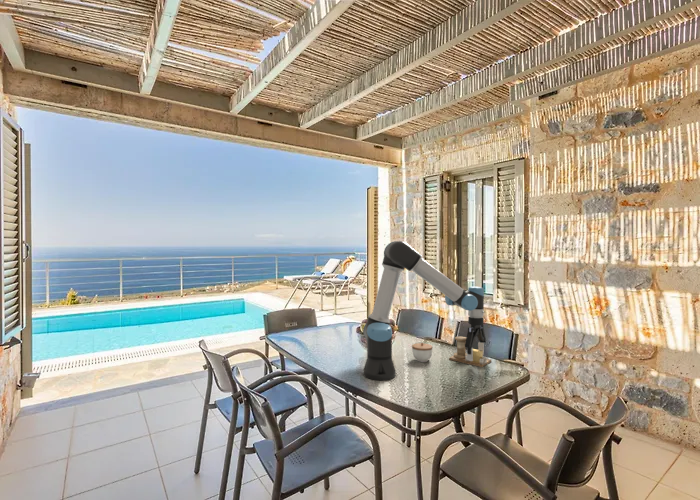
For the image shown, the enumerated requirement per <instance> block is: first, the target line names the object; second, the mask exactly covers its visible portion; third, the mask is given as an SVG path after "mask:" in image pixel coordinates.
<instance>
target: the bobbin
mask: <svg viewBox="0 0 700 500" xmlns="http://www.w3.org/2000/svg"><path fill="white" fill-rule="evenodd" d="M466 338H467V336H462V335H461V336H460V335H459V336H455V337H454V340H455V341H456V352H454V353H453V356H454V357H455V358H459V359H465V356H467V347H465V343H466Z"/></svg>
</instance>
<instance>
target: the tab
mask: <svg viewBox="0 0 700 500" xmlns="http://www.w3.org/2000/svg"><path fill="white" fill-rule="evenodd" d="M483 357H484V355H483V351H482V350H478V349H475V348H473V361H471V362H475V363H480V359H481V358H483Z"/></svg>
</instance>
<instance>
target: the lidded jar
mask: <svg viewBox="0 0 700 500" xmlns="http://www.w3.org/2000/svg"><path fill="white" fill-rule="evenodd" d="M411 347H412V348H411V351H412V356H413V358H414V359H415V360H416V361H417V362H420V363H427V362H429V360H430V359H431V358H432V355H433V345H432V344H429V343H424V342H420V343H419V342H418V343H414V344H412V345H411Z"/></svg>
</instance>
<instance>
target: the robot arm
mask: <svg viewBox="0 0 700 500" xmlns="http://www.w3.org/2000/svg"><path fill="white" fill-rule="evenodd" d="M381 265H382V267H383V271H382V274H381V279H380V283H379V286H378V289H377V290H378V291H377V294H376V298H375V301H374V305H373V309H372V313H371V314H368V317H367V320H366V323H365V324H364V326H363V332H362V333H363V336H364V338H365V340H366V347H367V348H366V351H367V352H366V355H367V356H366V361H365V365H364V367H363V376H364V377H365V378H367V379H370V380H374V381H387V380H392V379H393V378H396V376H397V375H396V374H397V373H396V369H395V365H394V361H393V330H392V327H391V320H390V318H389V317H390V313H391V309H392V306H393V301H394V298H395V294H396V290H397V286H398V284H399V283H398V282H399V278H400V274H401V273H402V272H403V271H405V269H406V270H407V271H408V272H413V273H414V274H416V275H417V276H419V277H420V278H421V279H422V280H424V281H425V282H426V283H429V285H431V286H432V287H433V288H435V289H436V290H437V291H439V292H440V293H441V294H443V295H444V300H445V304H446V305H447V306H452V307H453V306H457V307H458V308H462V309H464V310H465V311H467V314H468V319H467V323H468V324H469V325H470V327H467V334H466V343H465V347H466V353H467V360H469V361H473V349H474V347H473V346H474V342H475V338H477V339H478V343H477V347H478V349H477V350H482V351H483V356H484V355H485V353H484V352H485V351H484V350H485V344H486V343H487V340H486V334H485V330H484V323H485V322H484V321H485V319H484V316H485V315H484V314H485V311H484V306H485V305H484V304H485V301H484V300H485V293H484V292H485V289H484V288H483V287H482V286H469V287H468V290H465V289H464V288H463V287H461V286H460V285H459V284H457V283H456V282H454V281H453V280H452V279H450V278H449V277H447V276H446V274H444V273H442V272H441V271H439V269H437V268H436V267H434V266H433V265H431V264H430V263H429V262H427V261H426V260H425V259H424V258H423V255H422V254H420V253H419V252H418V251H417V250H415V249H414V248H413V247H412V246H411V245H410V244H409V243H407V242H405V241H401V240H398V241H391V242H390V243H388V244H387V245H386V246H385V248H384V251H383V259H382V263H381Z"/></svg>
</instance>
